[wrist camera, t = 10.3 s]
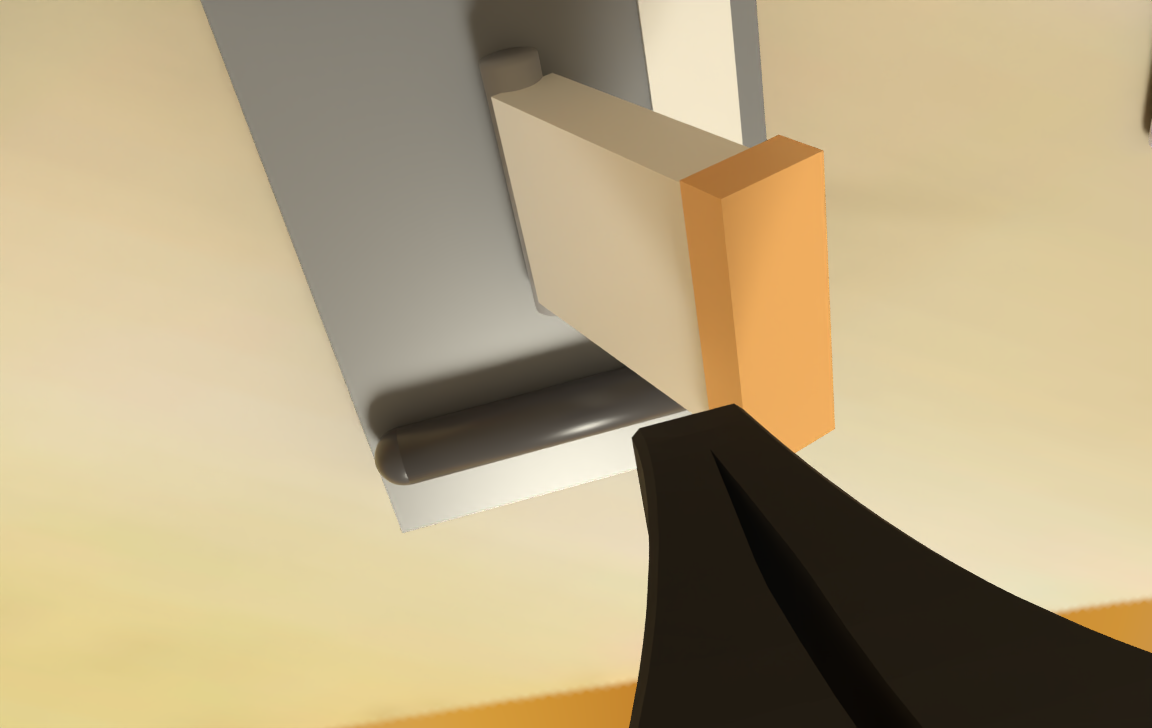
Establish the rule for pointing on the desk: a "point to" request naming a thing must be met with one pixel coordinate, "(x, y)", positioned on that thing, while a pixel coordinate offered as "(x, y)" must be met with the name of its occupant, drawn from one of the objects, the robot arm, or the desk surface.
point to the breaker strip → (462, 219)
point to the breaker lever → (672, 245)
